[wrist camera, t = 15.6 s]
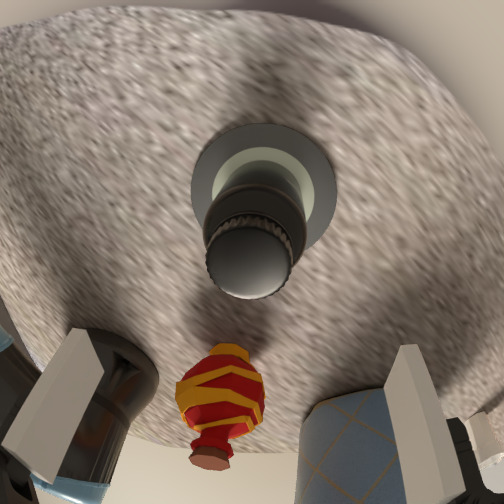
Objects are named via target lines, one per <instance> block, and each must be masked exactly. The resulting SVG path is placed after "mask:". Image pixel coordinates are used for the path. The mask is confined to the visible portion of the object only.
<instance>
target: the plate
mask: <svg viewBox="0 0 504 504" xmlns="http://www.w3.org/2000/svg"><path fill="white" fill-rule="evenodd" d="M256 160H268V161H272V162H276V163H278V164H280V165H282V166H284V167H285V168H287V169H288V170H289V171H290V172H291V173H292V174H293V175H294V177H295V178H296V180H297V181H298V183H299V186H300V189H301V193H302V198H303V204H304V210H305V217H306V223H307V243H306V247H305V250H306V249H308V248H309V247H311V246H312V245H313V244H314V243H315V242H316V241H318V239H319V238H320V237H321V236H322V235H323V234H324V232H325V231H326V229H327V228H328V226H329V224H330V222H331V220H332V217H333V214H334V211H335V206H336V199H337V190H336V182H335V178H334V174H333V171H332V169H331V166H330V164H329V162H328V161H327V159H326V157H325V156H324V154H323V153H322V152H321V151H320V149H319V148H318V147H317V146H316V145H315V144H314V143H313V142H312V141H311V140H310V139H308V138H307V137H305V136H304V135H303V134H301V133H299V132H297V131H295V130H293V129H290V128H288V127H285V126H281V125H276V124H269V123H256V124H249V125H244V126H241V127H238V128H235V129H233V130H231V131H229V132H227V133H225V134H223V135H222V136H220V137H219V138H218V139H216V140H215V141H214V142H213V143H212V144H211V145H210V146H209V147H208V148H207V149H206V150H205V152H204V153H203V154H202V156H201V157H200V159H199V161H198V163H197V165H196V167H195V170H194V173H193V177H192V182H191V201H192V206H193V210H194V213H195V216H196V218H197V220H198V222H199V224H200V226H201V228H202V229H203V222H204V218H205V215H206V213H207V211H208V209H209V207H210V205H211V204H212V202H213V200H214V199H215V197H216V196H217V194H218V193H219V191H220V190H221V188H222V187H223V185H224V184H225V182H226V181H227V179H228V178H229V176H230V175H231V174H232V173H233V172H234V171H235V170H236V169H237V168H238V167H240V166H242V165H243V164H245V163H248V162H251V161H256ZM305 250H304V251H305Z"/></svg>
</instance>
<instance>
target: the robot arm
mask: <svg viewBox="0 0 504 504" xmlns="http://www.w3.org/2000/svg"><path fill="white" fill-rule="evenodd" d="M158 384H159V377H158V373H157V371H156V369H155V367H154V365H153V364H152V362H151V361H150V360H149V359H148V358H147V356H146V355H145V354H144V353H143V352H141V351H140V350H139V349H138V348H137V347H135V346H134V345H133V344H131V343H130V342H128V341H127V340H125V339H123V338H121V337H119V336H117V335H115V334H113V333H110V332H107V331H104V330H100V329H94V328H85V329H77V328H72V330H71V331H70V333H69V334H68V335H67V337H66V338H65V340H64V341H63V343H62V344H61V346H60V347H59V349H58V350H57V352H56V353H55V355H54V356H53V358H52V359H51V361H50V362H49V364H48V365H47V367H46V368H45V370H44V372H43V373H42V372H41V371H40V370H39V369H38V368H37V367H36V365H35V364H34V363H33V362H32V361H31V360H30V359H29V358H28V356H27V355H26V354H25V353H24V352H23V351H22V350H21V348H20V347H19V346H18V345H17V344H16V342H15V341H14V338H13V337H12V336H11V335H10V334H8V333H7V332H6V331H5V330H4V328H3V327H2V326H1V325H0V504H39V502H38V498H37V495H36V491H35V488H34V486H35V487H37V488H39V489H41V490H43V491H45V492H47V493H49V494H52V495H54V496H56V497H59V498H61V499H64V500H66V501H69V502H71V503H74V504H101V503H102V500H103V498H104V496H105V493H106V491H107V489H108V487H110V482H111V479H112V476H113V473H114V470H115V467H116V464H117V461H118V458H119V455H120V452H121V449H122V446H123V444H124V441H125V438H126V435H127V432H128V430H129V427H130V425H131V423H132V421H133V420H134V419H135V418H136V417H137V416H138V415H139V414H140V413H141V412H142V410H143V409H144V408H145V407H146V406H147V405H148V404H149V403H150V402H151V400H152V399H153V397H154V395H155V393H156V390H157V387H158ZM384 392H385V396H386V400H387V404H388V408H389V413H390V417H391V421H392V426H393V430H394V435H395V440H396V445H397V450H398V455H399V460H400V465H401V471H402V476H403V482H404V488H405V494H406V501H407V504H504V493H500V494H498V493H493V492H492V491H491V490H489V489H487V488H486V487H485V485H484V483H483V481H482V477H481V474H480V471H479V467H478V463H477V460H476V457H475V454H474V450H472V448H473V447H472V444H471V441H469V439H470V438H469V435H468V432H467V429H466V427H465V426H464V424H463V423H462V422H461V421H460V420H459V418H458V417H456V418H451V419H445V416H444V413H443V410H442V407H441V404H440V402H439V399H438V396H437V393H436V390H435V388H434V385H433V382H432V380H431V377H430V375H429V372H428V369H427V367H426V364H425V362H424V359H423V357H422V354H421V352H420V349H419V347H418V345H417V344H410V345H401V346H400V348H399V351H398V354H397V356H396V359H395V361H394V364H393V366H392V369H391V371H390V374H389V376H388V378H387V381H386V383H385V385H384Z"/></svg>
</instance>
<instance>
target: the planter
mask: <svg viewBox="0 0 504 504" xmlns="http://www.w3.org/2000/svg"><path fill="white" fill-rule="evenodd" d="M294 504H407V501H406V494H405V488H404V482H403V476H402V471H401V465H400V460H399V455H398V450H397V445H396V440H395V435H394V430H393V426H392V421H391V417H390V413H389V408H388V404H387V400H386V396H385V392H384V388H378V389H370V390H364V391H359V392H355V393H351V394H347V395H343V396H339V397H335V398H331V399H327V400H324V401H321V402H319V403H317V404H316V405H315V407H314V408H313V410H312V412H311V413H310V415H309V416H308V417H307V419H306V420H305V421H304V423H303V424H302V426H301V430H300V436H299V456H298V469H297V482H296V492H295V502H294Z"/></svg>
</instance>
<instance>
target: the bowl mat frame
mask: <svg viewBox="0 0 504 504" xmlns="http://www.w3.org/2000/svg"><path fill="white" fill-rule="evenodd" d="M0 325H1V326H2V327H3V328H4V330H5V331H6V332H7V333H8V334H10V335H11V336H12V337H13V338H14V341H15V342H16V344H17V345H18V346H19V347H20V348H21V350H22V351H23V352H24V353H25V354H26V355H27V356H28V358H29V359H30V360H31V361H32V362H33V360H32V358H31V357H30V355H29V353H28V351H27V349H26V348H25V346H24V344H23V342H22V340H21V338H20V336H19V334H18V332H17V330H16V328H15V326H14V324H13V322H12V320H11V318H10V316H9V314H8V312H7V310H6V308H5V305H4V303H3V301H2V299H1V296H0ZM33 363H34V362H33Z"/></svg>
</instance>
